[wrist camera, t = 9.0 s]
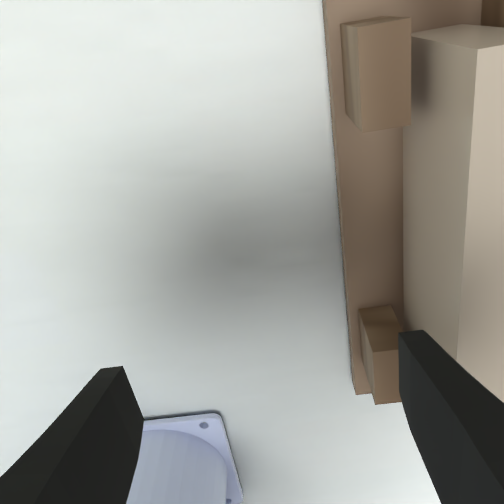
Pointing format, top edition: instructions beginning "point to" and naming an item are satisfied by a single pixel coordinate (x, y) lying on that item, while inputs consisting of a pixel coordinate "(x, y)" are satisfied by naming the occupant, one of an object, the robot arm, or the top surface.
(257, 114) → the top surface
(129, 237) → the top surface
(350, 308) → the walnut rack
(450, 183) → the clay strip
